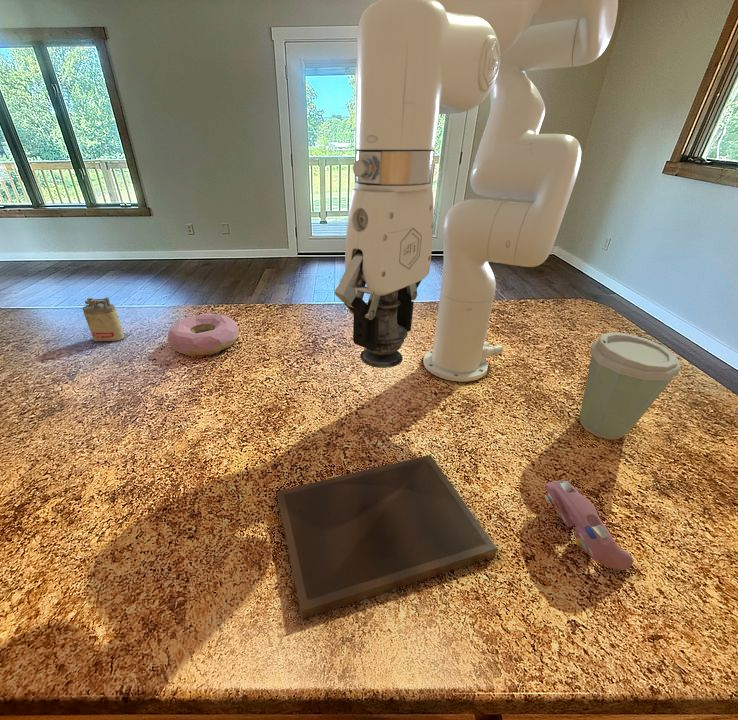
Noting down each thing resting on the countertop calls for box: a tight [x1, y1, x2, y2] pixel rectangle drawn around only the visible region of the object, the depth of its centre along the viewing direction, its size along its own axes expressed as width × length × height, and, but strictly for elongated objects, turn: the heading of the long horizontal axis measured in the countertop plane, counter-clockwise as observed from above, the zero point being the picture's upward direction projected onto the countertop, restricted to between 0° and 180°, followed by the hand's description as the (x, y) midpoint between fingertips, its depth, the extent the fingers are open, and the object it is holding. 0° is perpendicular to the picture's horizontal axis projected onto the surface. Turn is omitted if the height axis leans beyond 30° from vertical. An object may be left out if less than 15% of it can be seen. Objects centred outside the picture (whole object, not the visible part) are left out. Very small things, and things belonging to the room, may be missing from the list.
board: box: [276, 454, 498, 620], centre depth 45 cm, size 22×15×2 cm
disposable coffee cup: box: [578, 331, 681, 440], centre depth 57 cm, size 11×11×15 cm
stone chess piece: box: [359, 290, 409, 369], centre depth 44 cm, size 6×6×12 cm
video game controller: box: [544, 480, 634, 571], centre depth 43 cm, size 10×5×7 cm, turn 5°
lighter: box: [82, 297, 126, 342], centre depth 88 cm, size 7×4×10 cm, turn 91°
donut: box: [166, 312, 239, 357], centre depth 86 cm, size 16×15×5 cm
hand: (382, 335), depth 46 cm, fingers closed on stone chess piece, 5 cm apart
